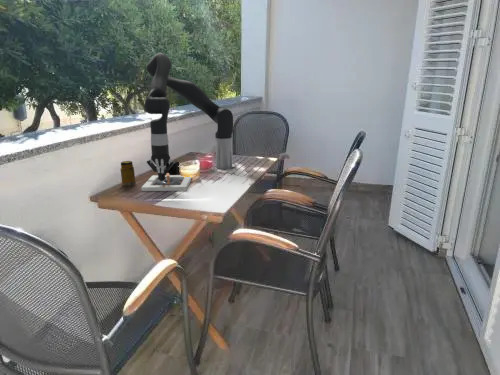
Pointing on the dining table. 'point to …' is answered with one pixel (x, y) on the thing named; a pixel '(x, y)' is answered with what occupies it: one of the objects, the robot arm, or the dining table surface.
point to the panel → (151, 187)
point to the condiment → (127, 173)
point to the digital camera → (173, 168)
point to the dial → (169, 181)
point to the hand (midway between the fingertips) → (162, 180)
